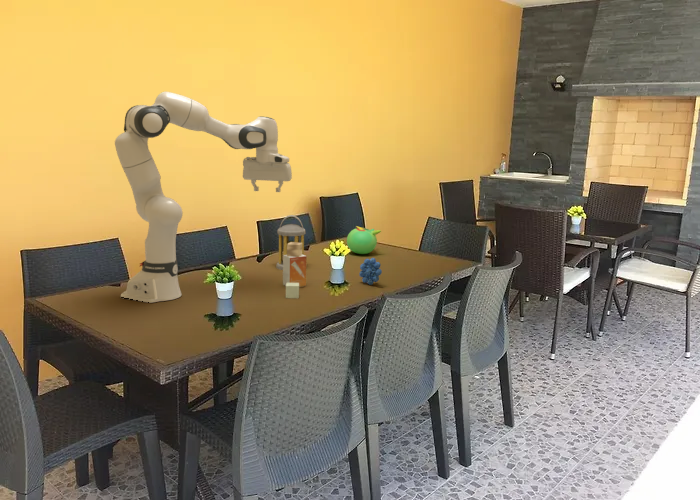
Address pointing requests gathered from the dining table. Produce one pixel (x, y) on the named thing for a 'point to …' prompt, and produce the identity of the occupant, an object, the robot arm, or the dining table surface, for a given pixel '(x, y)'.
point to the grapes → (370, 271)
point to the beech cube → (294, 249)
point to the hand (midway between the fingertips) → (267, 191)
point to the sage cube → (292, 290)
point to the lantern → (286, 232)
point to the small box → (294, 270)
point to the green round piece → (362, 240)
